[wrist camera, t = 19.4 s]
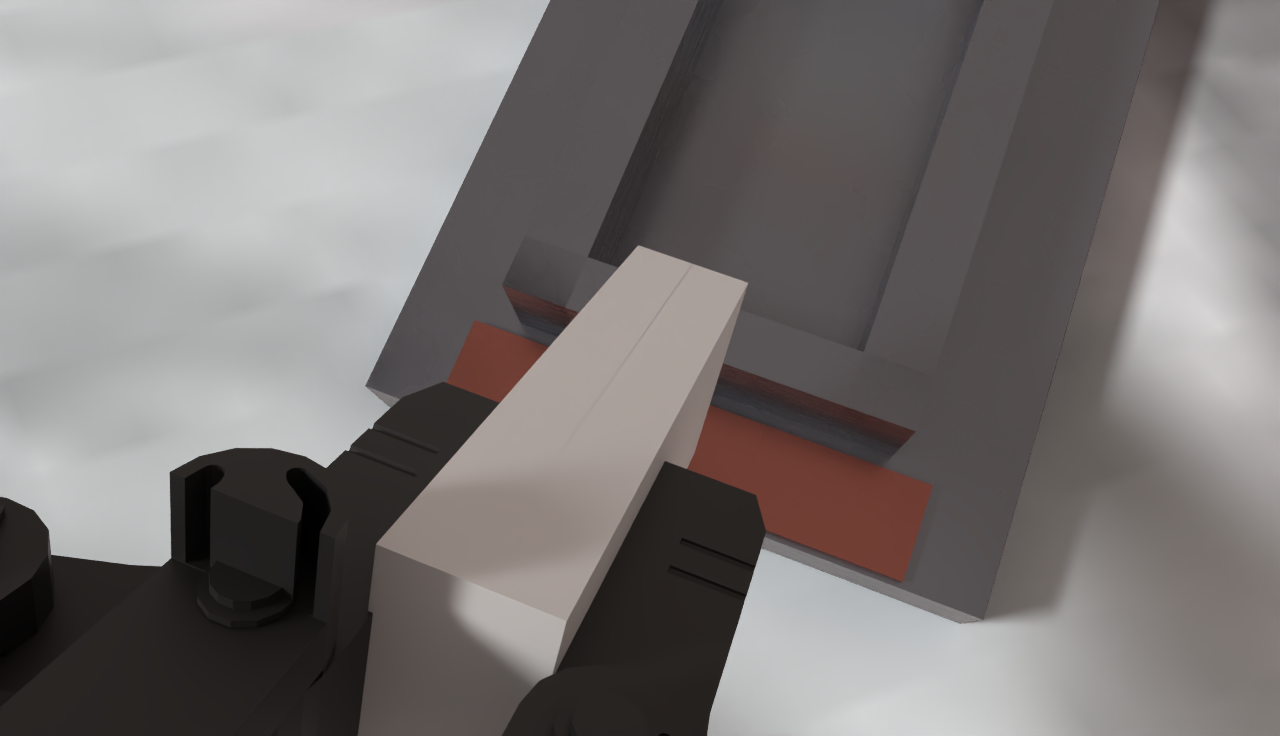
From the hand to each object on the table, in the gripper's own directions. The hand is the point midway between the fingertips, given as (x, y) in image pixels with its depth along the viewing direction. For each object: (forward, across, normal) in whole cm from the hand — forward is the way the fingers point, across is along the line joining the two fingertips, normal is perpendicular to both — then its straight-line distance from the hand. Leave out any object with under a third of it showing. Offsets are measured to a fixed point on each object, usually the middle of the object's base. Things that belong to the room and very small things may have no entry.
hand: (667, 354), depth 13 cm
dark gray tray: (+11, 0, -1) cm, 11 cm away
